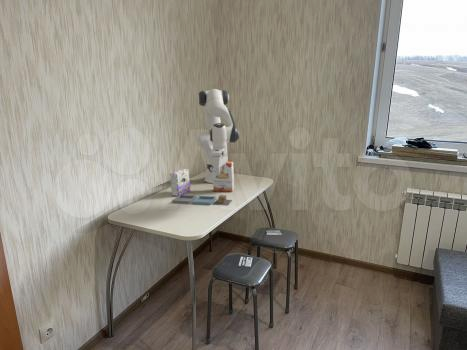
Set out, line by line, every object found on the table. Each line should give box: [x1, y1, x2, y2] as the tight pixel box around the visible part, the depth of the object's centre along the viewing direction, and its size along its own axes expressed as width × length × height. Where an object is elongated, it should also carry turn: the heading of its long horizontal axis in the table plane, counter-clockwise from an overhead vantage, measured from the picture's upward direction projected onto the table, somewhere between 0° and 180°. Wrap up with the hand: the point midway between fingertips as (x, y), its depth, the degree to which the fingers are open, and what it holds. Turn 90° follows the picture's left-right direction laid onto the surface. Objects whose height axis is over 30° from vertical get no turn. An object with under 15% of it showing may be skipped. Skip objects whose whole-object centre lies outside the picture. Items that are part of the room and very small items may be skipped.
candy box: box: [169, 168, 191, 197], centre depth 243 cm, size 14×6×16 cm, turn 149°
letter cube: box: [218, 194, 228, 203], centre depth 221 cm, size 4×4×4 cm
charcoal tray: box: [172, 194, 198, 205], centre depth 228 cm, size 12×12×2 cm
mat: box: [212, 199, 233, 206], centre depth 221 cm, size 10×10×1 cm
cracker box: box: [212, 161, 235, 193], centre depth 245 cm, size 14×6×21 cm, turn 76°
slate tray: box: [192, 195, 217, 206], centre depth 224 cm, size 12×12×2 cm
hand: (221, 172), depth 216 cm, fingers open, 8 cm apart
